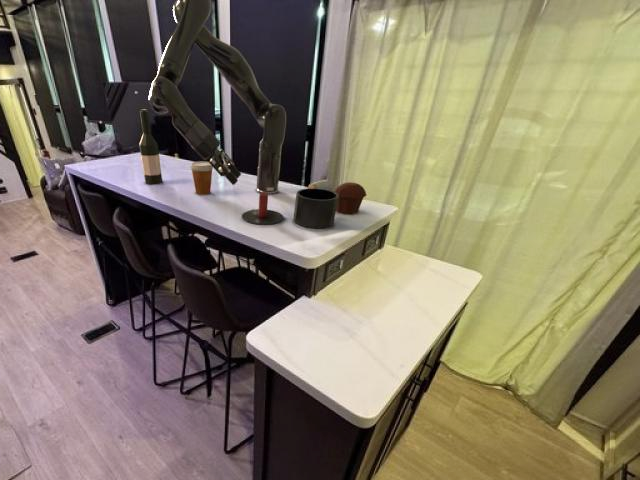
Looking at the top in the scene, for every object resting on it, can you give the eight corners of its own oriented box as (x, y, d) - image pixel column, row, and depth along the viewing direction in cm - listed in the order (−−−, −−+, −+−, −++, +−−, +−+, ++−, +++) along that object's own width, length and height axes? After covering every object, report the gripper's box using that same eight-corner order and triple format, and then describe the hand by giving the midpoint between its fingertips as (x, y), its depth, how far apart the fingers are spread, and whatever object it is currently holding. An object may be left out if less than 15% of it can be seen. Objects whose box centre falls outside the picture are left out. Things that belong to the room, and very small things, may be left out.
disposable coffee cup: (211, 189, 141) (209, 160, 134) (216, 195, 133) (215, 165, 127) (190, 190, 138) (188, 161, 131) (194, 196, 131) (192, 166, 124)
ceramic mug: (304, 198, 131) (307, 179, 126) (320, 196, 134) (323, 177, 129) (320, 206, 123) (323, 186, 119) (336, 203, 126) (340, 184, 122)
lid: (234, 215, 113) (235, 191, 108) (268, 210, 118) (270, 186, 114) (254, 229, 102) (255, 203, 97) (291, 222, 108) (293, 197, 103)
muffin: (328, 212, 117) (333, 185, 111) (332, 204, 125) (337, 178, 119) (361, 217, 113) (368, 189, 107) (363, 208, 122) (369, 181, 116)
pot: (285, 219, 110) (288, 191, 104) (316, 214, 115) (320, 186, 110) (309, 233, 100) (314, 202, 95) (341, 226, 105) (347, 197, 100)
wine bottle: (160, 184, 146) (150, 110, 128) (142, 184, 146) (130, 110, 128) (164, 180, 152) (155, 109, 135) (147, 180, 152) (136, 108, 135)
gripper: (199, 145, 106) (233, 182, 111) (188, 153, 94) (226, 193, 100) (214, 128, 102) (248, 167, 108) (204, 134, 91) (242, 176, 96)
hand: (237, 179), depth 104 cm, fingers open, 8 cm apart
